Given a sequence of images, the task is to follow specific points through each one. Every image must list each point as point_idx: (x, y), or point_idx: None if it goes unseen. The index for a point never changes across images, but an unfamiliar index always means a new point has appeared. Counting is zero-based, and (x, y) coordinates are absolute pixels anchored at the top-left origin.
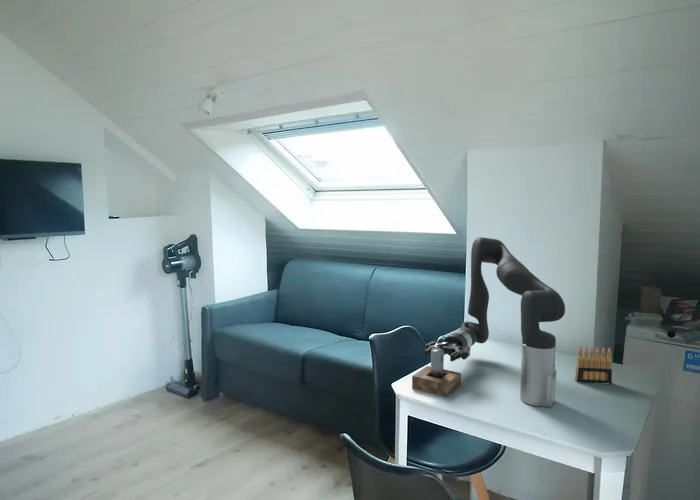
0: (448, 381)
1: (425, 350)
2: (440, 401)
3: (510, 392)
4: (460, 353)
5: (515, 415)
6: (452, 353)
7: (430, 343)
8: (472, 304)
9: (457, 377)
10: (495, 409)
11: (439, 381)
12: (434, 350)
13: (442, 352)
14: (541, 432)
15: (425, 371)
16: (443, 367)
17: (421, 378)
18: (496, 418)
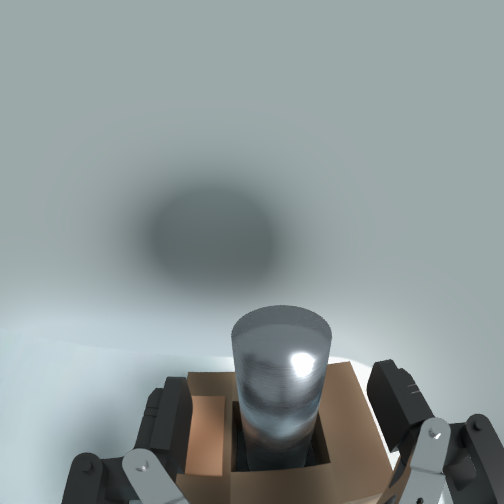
0: (193, 393)
1: (400, 369)
2: (206, 370)
3: (5, 493)
4: (121, 458)
5: (26, 371)
6: (175, 402)
7: (493, 467)
8: None
9: None
10: (59, 383)
11: (227, 377)
12: (294, 319)
13: (233, 333)
14: (11, 334)
15: (347, 427)
16: (244, 425)
17: None
18: (66, 350)
